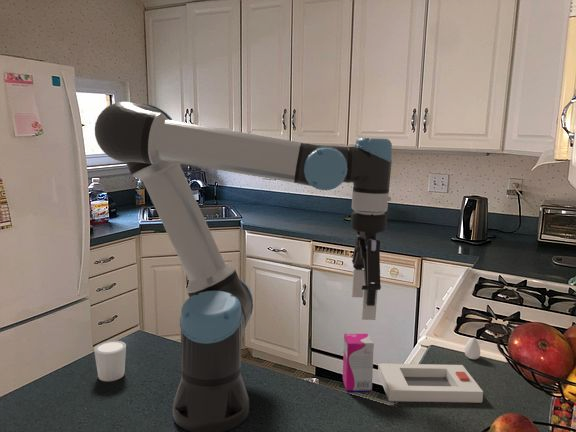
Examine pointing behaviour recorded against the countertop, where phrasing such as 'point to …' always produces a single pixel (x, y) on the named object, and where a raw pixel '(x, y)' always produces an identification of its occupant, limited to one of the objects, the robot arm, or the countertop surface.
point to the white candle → (110, 360)
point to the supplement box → (358, 363)
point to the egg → (472, 349)
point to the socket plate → (429, 383)
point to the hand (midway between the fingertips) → (362, 307)
